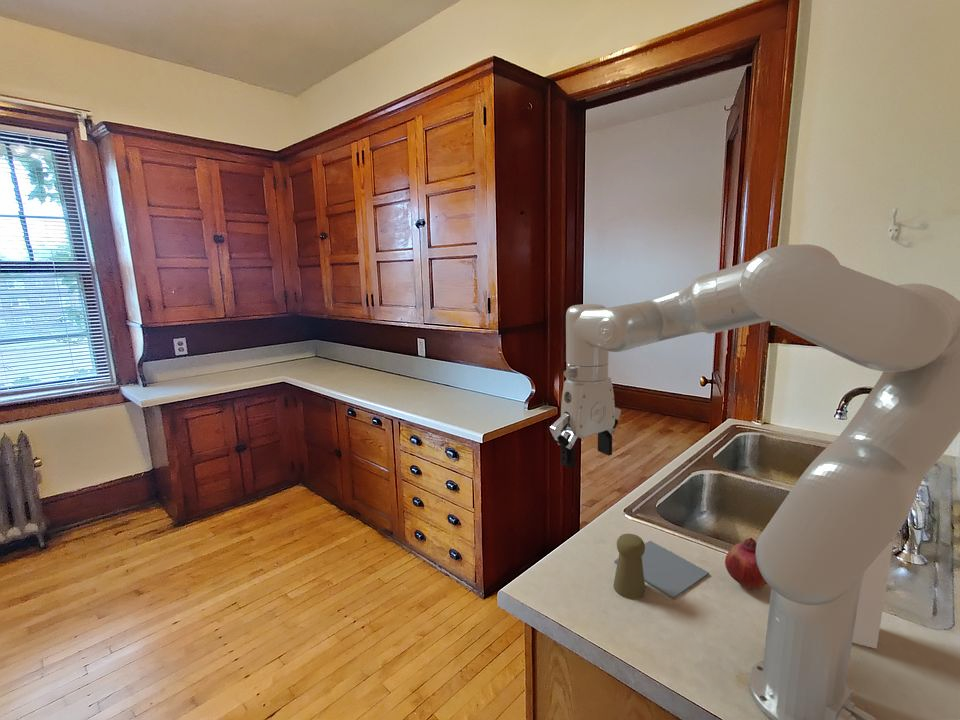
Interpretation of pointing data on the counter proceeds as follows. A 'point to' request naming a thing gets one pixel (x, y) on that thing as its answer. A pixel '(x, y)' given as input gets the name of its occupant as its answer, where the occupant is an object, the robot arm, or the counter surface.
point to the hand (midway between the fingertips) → (586, 459)
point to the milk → (872, 600)
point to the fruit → (744, 565)
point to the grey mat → (669, 571)
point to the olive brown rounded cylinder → (630, 567)
